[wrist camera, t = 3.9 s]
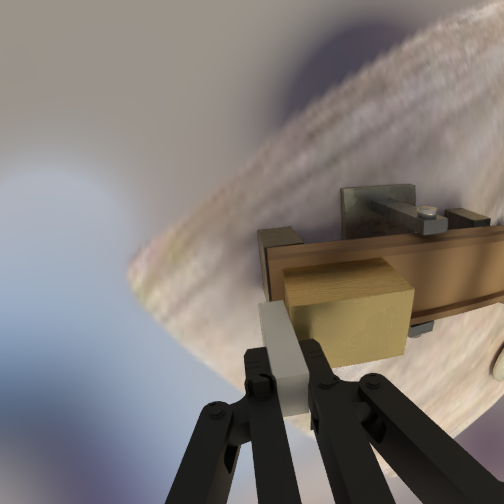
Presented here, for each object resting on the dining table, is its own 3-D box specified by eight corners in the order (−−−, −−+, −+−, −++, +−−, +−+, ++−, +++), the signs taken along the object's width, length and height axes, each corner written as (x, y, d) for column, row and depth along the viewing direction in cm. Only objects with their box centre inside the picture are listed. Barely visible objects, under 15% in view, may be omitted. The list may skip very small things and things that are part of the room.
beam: (513, 223, 19) (529, 231, 17) (502, 286, 21) (516, 296, 19) (266, 247, 20) (268, 260, 18) (274, 327, 23) (276, 345, 20)
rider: (382, 257, 19) (414, 289, 14) (377, 314, 20) (403, 354, 16) (282, 268, 19) (289, 306, 15) (286, 326, 21) (293, 373, 16)
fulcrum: (462, 182, 26) (521, 197, 17) (454, 279, 30) (501, 312, 21) (253, 197, 25) (266, 220, 17) (266, 317, 29) (281, 378, 21)
